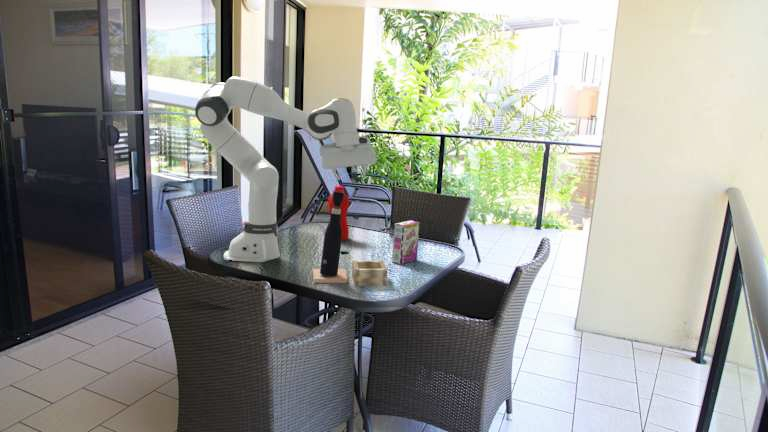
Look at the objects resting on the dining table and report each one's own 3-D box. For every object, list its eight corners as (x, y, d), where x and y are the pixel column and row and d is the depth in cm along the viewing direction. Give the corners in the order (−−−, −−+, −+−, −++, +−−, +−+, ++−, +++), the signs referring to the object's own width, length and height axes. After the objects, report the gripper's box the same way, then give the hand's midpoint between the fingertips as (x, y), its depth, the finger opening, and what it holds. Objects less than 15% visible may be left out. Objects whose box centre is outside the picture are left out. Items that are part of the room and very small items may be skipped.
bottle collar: (354, 286, 205) (355, 269, 203) (351, 276, 216) (352, 260, 214) (386, 285, 206) (387, 269, 205) (382, 275, 217) (382, 260, 216)
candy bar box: (401, 265, 232) (403, 225, 229) (391, 262, 235) (393, 223, 232) (417, 260, 241) (420, 221, 237) (408, 257, 244) (410, 219, 240)
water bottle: (322, 237, 272) (323, 184, 267) (345, 236, 276) (346, 184, 271) (326, 241, 264) (327, 187, 259) (349, 241, 267) (351, 187, 262)
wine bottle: (338, 273, 214) (348, 193, 211) (336, 276, 208) (346, 194, 204) (320, 270, 214) (330, 190, 211) (318, 274, 208) (328, 192, 204)
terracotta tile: (313, 283, 206) (313, 279, 206) (313, 272, 218) (313, 269, 217) (347, 282, 208) (347, 278, 208) (344, 272, 219) (344, 268, 219)
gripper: (319, 143, 212) (323, 181, 212) (374, 138, 214) (378, 175, 214) (318, 145, 218) (323, 182, 218) (372, 140, 220) (376, 176, 220)
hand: (351, 178), depth 216 cm, fingers open, 8 cm apart
